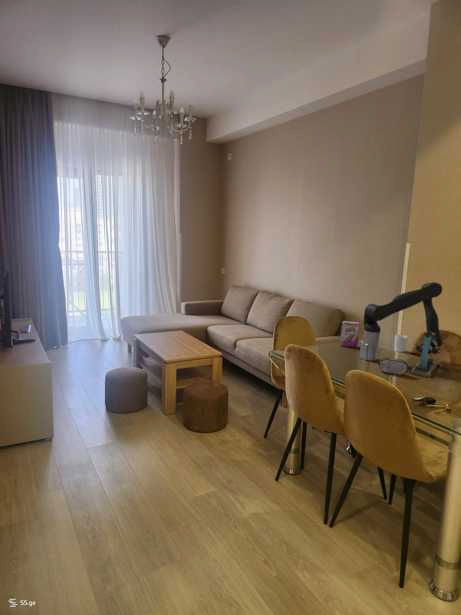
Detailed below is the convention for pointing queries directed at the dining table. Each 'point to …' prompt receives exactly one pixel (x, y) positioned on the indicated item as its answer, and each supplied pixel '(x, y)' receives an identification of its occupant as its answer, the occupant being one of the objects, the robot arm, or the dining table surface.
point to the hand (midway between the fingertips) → (424, 351)
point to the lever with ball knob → (425, 352)
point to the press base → (422, 372)
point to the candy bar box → (349, 334)
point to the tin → (393, 366)
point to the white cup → (400, 343)
